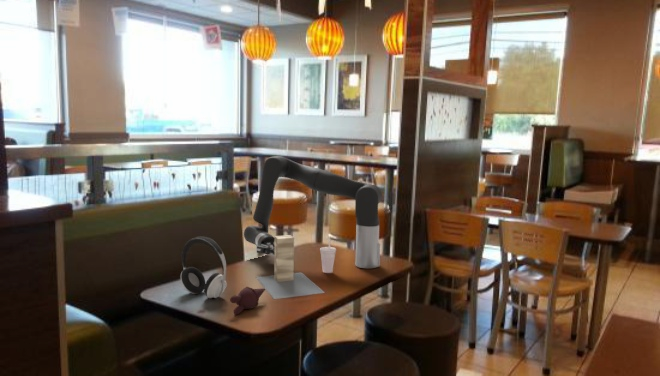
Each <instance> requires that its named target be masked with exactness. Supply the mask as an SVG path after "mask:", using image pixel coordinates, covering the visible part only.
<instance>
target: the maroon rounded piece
mask: <svg viewBox="0 0 660 376" xmlns="http://www.w3.org/2000/svg"><path fill="white" fill-rule="evenodd" d="M265 291H266V289H265V288H252V287H250V286H245V287H243V288H242V289H241V290H240V291H239V293H238V294H233V295H232V296H231V297H230V298H229V302H230V303H232V304H236V307H235V308H234V309H233V314H234V315H236V316H237V315H239V314H240V313H242V311H243V310H250V309H253V308H255V307H257V306H259V300H260V297H261V296H262V295H263V293H264V292H265Z"/></svg>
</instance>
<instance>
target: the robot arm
mask: <svg viewBox="0 0 660 376" xmlns="http://www.w3.org/2000/svg"><path fill="white" fill-rule="evenodd" d="M261 175H262V176H261V181H260V183H261V184H260V190H259V193H258V194H259V195H258V199H257V202H256V206H255V210H254V213H253V218H252V219H253V221H254V222H256V223H258V224H261V226H257V225H248V226H247V227H245V229H244V230H243V231H244V232H243V236H244V237H243V238H244V239H245V241H246V242H248V243H250V244H253V245H254V246H255V245H256V253H258V254H263V255H267V256H268V255H272V256H273V255H274V256H275V236H273V235H272V234H270V233H269V225H270V223H269V222H270V217H271V214H272V211H273V208H274V191H275V188H276V185H277V181H278V180H279V178H285V179H290V180H294V181H297V182H299V183H301V184H303V185H304V186H306V187H307V188H308V189H311V190H313V191H316V192H319V193H321V194H322V193H323V194H325V195H331V196H340V197H347V198H350V199H353V200H355V201H354V202H355V205H354V206H355V210H354V211H355V213H354V214H355V220H356V227H355V228H356V229H355V230H356V232H355V234H356V235H355V259H354V261H355V262H354V263H355V266H356V267H357V268H361V269H375V268H379V267H380V260H381V257H380V256H381V244H380V241H379V239H380V217H379V204H380V203H381V201H382V199H383V193H382V191H381V189H380V187H378V186H377V185H375V184H371V183H366V182H361V181H355V180H352V179H350V178H348V177H346V176H345V177H344V176H342V175H340V174H336V173H334V172H331V171H328V170H324V169H321V168H318V167H314V166H309V165H304V164H302V163H299V162H296V161H293V160H291V159H289V158H287V157H286V156H281V155H276V156H275V155H274V156H270V157H268V158H266V159H265V161H264V164H263V168H262V174H261Z"/></svg>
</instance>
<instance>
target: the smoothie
mask: <svg viewBox="0 0 660 376" xmlns="http://www.w3.org/2000/svg"><path fill="white" fill-rule="evenodd" d="M319 252H320V259H321V267H322V268H321V269H322V273H324V274H333V270H334V263H335V257H336V252H337V248H336V247H335V246H334V247H333V246H331V237H328V246H322V247H320V248H319Z"/></svg>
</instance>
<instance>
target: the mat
mask: <svg viewBox="0 0 660 376" xmlns="http://www.w3.org/2000/svg"><path fill="white" fill-rule="evenodd" d="M255 279H256V280H257V281H258V282H259V284H260V285H261V286H262V287H263V289H265V291H266V292H267V293H268V294H269V295H270V297H271V298H272V299H273V300H279V299H285V298H286V299H287V298H295V297H303V296H311V295H317V294H319V295H320V294H325V293H326V292H325V291H324V290H323V289H322V288H320V287H319V286H318V285H317V284H316V283H314V282H313V281H312V280H311V279H310V278H309V277H308V276H306V275H305V274H304V273H303V272H293V280H292V281H283V282H277V281H276V280H275V279H274V275H273V274H272V275H263V276H255Z"/></svg>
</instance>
